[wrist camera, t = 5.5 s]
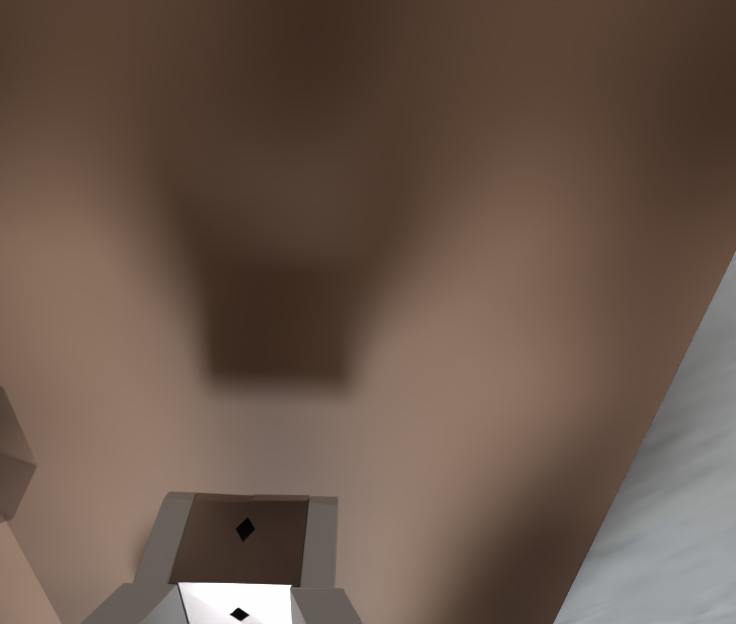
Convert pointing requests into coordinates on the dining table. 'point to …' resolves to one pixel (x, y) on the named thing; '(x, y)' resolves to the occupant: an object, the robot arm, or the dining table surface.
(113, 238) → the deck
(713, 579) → the dining table surface
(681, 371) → the dining table surface
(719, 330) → the dining table surface
